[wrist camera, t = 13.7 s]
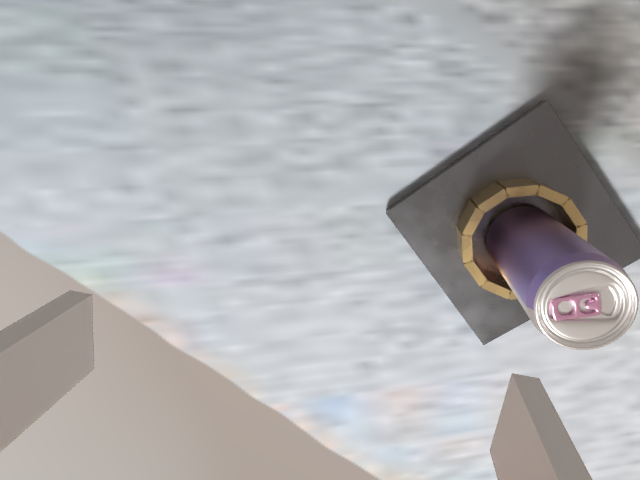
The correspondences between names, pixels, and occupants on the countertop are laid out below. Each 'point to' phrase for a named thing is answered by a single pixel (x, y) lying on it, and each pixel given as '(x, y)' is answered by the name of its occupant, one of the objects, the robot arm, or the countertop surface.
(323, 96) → the countertop surface
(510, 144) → the pipe socket
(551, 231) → the beverage can
